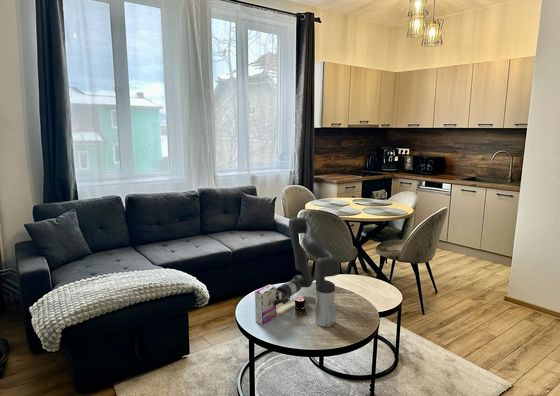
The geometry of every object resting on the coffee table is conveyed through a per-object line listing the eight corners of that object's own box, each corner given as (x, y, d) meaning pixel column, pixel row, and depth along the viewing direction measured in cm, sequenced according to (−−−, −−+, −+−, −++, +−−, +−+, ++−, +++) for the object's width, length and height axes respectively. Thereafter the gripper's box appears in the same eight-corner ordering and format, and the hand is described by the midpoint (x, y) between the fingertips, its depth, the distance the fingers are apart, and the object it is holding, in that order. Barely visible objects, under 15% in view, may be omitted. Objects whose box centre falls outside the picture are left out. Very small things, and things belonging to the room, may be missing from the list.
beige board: (301, 302, 209) (301, 301, 209) (281, 315, 194) (281, 314, 194) (283, 296, 216) (283, 295, 216) (262, 309, 201) (262, 308, 201)
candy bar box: (268, 313, 196) (268, 283, 193) (276, 316, 193) (276, 286, 190) (254, 322, 187) (254, 291, 184) (262, 325, 184) (262, 293, 181)
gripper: (275, 280, 206) (256, 290, 193) (297, 287, 198) (278, 298, 185) (275, 293, 207) (256, 304, 194) (297, 300, 199) (278, 312, 186)
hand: (267, 301), depth 190 cm, fingers open, 8 cm apart
